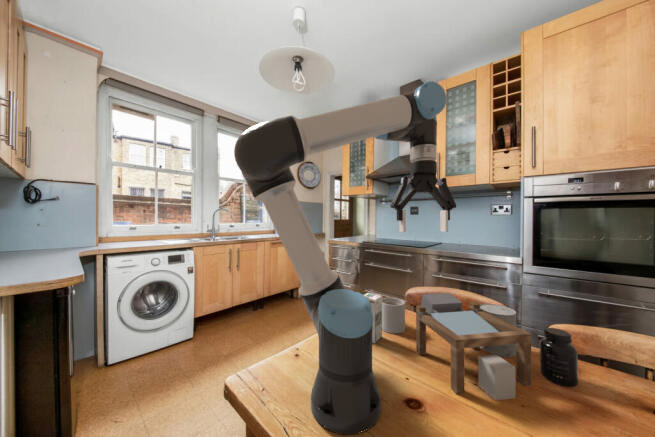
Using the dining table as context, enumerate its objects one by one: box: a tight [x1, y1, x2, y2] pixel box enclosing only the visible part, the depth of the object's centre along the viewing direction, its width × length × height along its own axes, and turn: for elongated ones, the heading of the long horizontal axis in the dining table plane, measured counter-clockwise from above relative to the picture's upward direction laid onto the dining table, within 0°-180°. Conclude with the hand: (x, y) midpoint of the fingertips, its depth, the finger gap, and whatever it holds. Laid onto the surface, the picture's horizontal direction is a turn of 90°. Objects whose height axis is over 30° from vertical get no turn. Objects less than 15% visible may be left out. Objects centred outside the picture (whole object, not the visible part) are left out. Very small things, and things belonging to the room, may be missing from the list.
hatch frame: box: [415, 301, 533, 395], centre depth 65 cm, size 20×18×14 cm
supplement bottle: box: [539, 327, 579, 389], centre depth 60 cm, size 7×7×12 cm
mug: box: [382, 297, 406, 335], centre depth 89 cm, size 11×10×10 cm
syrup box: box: [363, 292, 383, 344], centre depth 81 cm, size 6×6×14 cm
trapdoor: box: [420, 292, 499, 335], centre depth 70 cm, size 14×20×4 cm
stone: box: [477, 354, 516, 401], centre depth 56 cm, size 5×5×7 cm
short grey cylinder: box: [480, 303, 517, 358], centre depth 74 cm, size 10×10×12 cm
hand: (423, 231), depth 72 cm, fingers open, 13 cm apart
